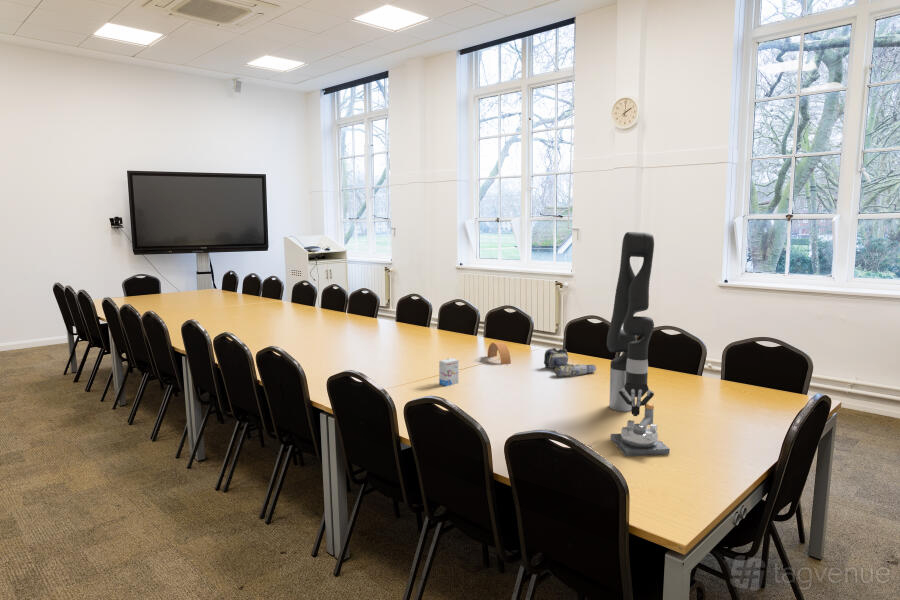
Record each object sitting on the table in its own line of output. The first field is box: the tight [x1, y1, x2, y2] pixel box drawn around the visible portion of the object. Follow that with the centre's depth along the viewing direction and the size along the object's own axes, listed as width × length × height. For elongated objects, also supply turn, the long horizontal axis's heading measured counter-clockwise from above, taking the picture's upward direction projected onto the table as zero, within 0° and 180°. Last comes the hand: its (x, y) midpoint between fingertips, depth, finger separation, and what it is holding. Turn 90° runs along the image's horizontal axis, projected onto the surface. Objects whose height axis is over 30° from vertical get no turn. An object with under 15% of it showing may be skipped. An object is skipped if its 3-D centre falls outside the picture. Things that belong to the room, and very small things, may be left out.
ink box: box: [438, 357, 460, 387], centre depth 280 cm, size 9×5×12 cm, turn 131°
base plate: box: [610, 433, 671, 457], centre depth 201 cm, size 15×15×2 cm
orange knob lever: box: [620, 402, 659, 447], centre depth 205 cm, size 23×12×8 cm, turn 149°
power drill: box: [543, 347, 597, 378], centre depth 300 cm, size 22×23×11 cm
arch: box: [487, 341, 512, 365], centre depth 324 cm, size 6×20×10 cm, turn 18°
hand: (635, 415), depth 215 cm, fingers closed
